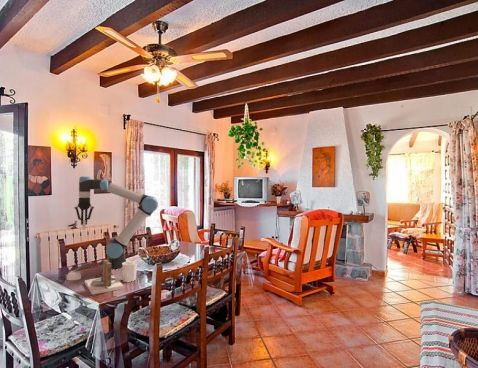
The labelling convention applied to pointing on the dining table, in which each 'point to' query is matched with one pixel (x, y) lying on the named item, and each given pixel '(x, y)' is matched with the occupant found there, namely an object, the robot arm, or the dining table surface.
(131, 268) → the candle holder
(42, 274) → the dining table surface
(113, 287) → the dial plate
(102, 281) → the wooden bookend
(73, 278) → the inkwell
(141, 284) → the dining table surface
